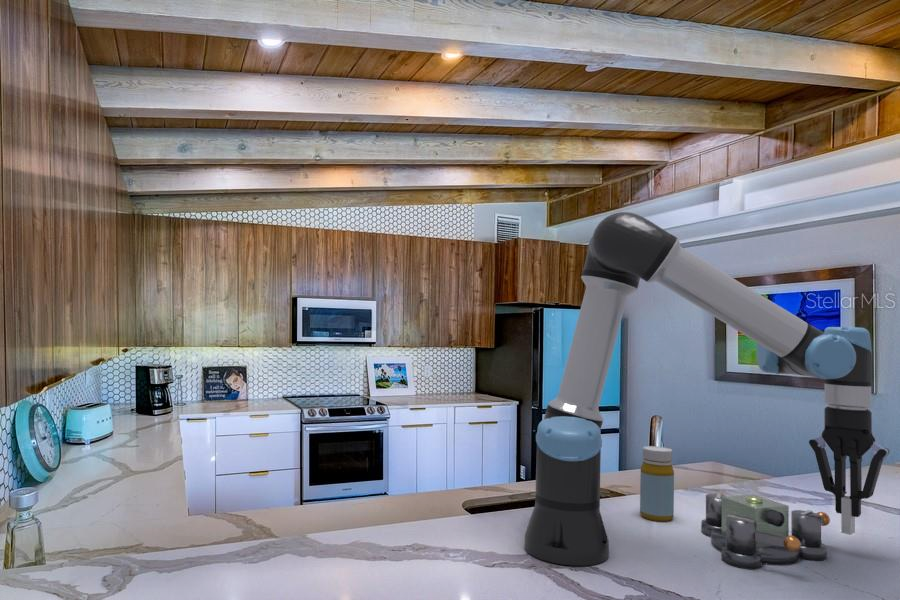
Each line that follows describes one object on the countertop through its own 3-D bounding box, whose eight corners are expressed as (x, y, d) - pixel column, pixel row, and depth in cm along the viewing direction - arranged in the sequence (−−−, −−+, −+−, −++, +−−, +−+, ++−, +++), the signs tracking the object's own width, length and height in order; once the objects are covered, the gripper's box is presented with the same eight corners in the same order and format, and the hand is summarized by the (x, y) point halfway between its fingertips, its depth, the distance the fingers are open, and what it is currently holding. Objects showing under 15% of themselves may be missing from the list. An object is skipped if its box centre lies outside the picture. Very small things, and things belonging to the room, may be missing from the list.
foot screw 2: (722, 549, 105) (723, 517, 105) (730, 542, 108) (730, 512, 109) (797, 567, 97) (797, 533, 97) (803, 560, 101) (803, 527, 101)
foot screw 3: (815, 548, 107) (815, 517, 107) (787, 541, 110) (787, 511, 111) (838, 536, 114) (838, 507, 114) (811, 529, 118) (811, 501, 118)
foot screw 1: (731, 528, 117) (731, 500, 117) (705, 524, 119) (705, 496, 119) (731, 513, 128) (731, 487, 128) (707, 509, 130) (707, 484, 130)
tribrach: (741, 570, 101) (741, 513, 101) (663, 532, 120) (664, 484, 120) (834, 559, 108) (834, 505, 109) (747, 525, 127) (747, 479, 127)
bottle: (676, 523, 126) (676, 452, 127) (641, 520, 127) (643, 450, 128) (670, 514, 133) (671, 447, 134) (638, 511, 134) (639, 444, 135)
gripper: (894, 410, 111) (895, 538, 109) (816, 402, 121) (816, 520, 119) (883, 412, 106) (884, 546, 104) (802, 404, 116) (803, 526, 114)
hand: (848, 532), depth 112 cm, fingers closed
